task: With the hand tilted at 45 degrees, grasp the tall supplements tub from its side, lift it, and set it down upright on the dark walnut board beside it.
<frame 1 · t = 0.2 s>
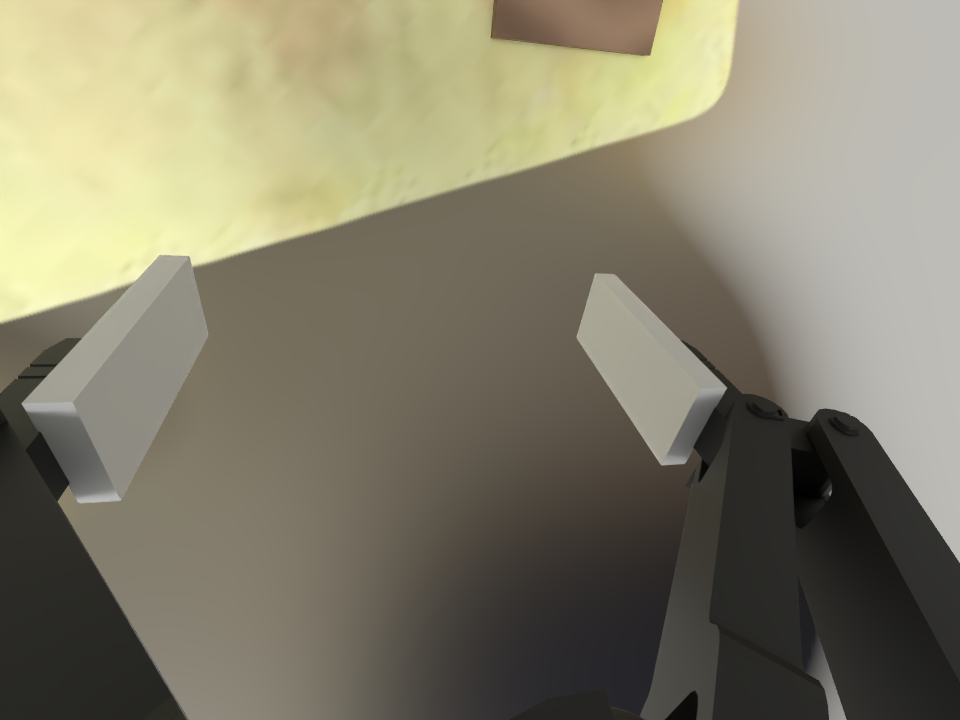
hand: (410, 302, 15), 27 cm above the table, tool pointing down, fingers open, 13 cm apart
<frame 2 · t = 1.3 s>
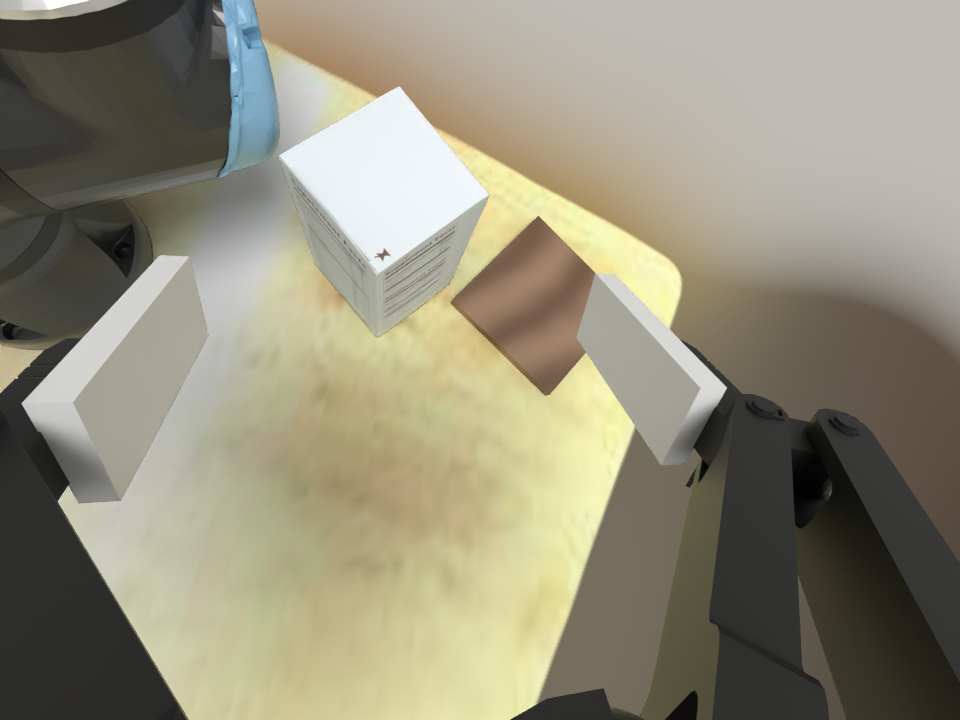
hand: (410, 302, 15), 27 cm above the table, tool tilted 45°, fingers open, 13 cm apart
walnut board: (539, 305, 47), on the table
supplement box: (383, 273, 44), on the table
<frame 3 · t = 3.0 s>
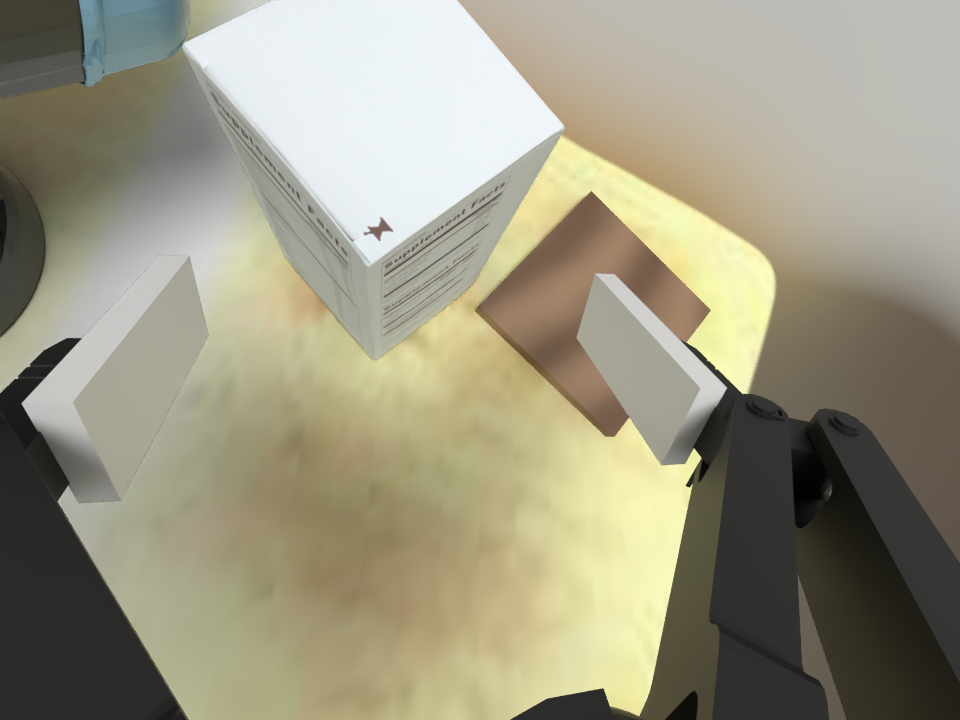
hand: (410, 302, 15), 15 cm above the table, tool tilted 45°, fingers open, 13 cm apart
walnut board: (594, 312, 34), on the table
supplement box: (382, 270, 31), on the table
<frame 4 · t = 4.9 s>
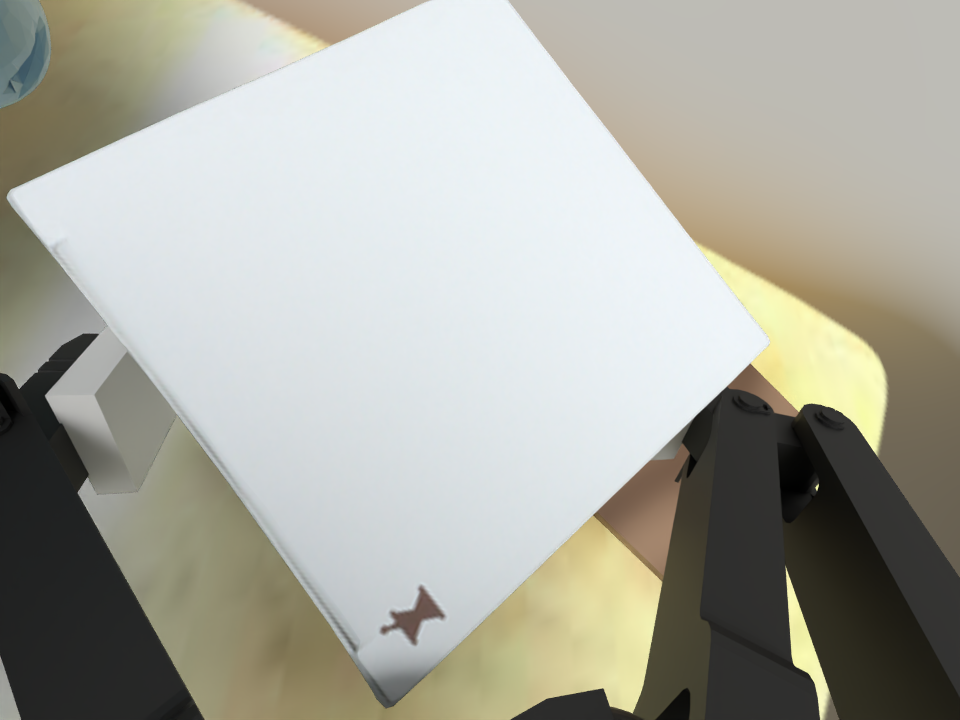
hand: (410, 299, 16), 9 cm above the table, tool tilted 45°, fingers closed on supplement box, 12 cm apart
walnut board: (670, 437, 27), on the table
supplement box: (399, 391, 24), on the table, touching gripper
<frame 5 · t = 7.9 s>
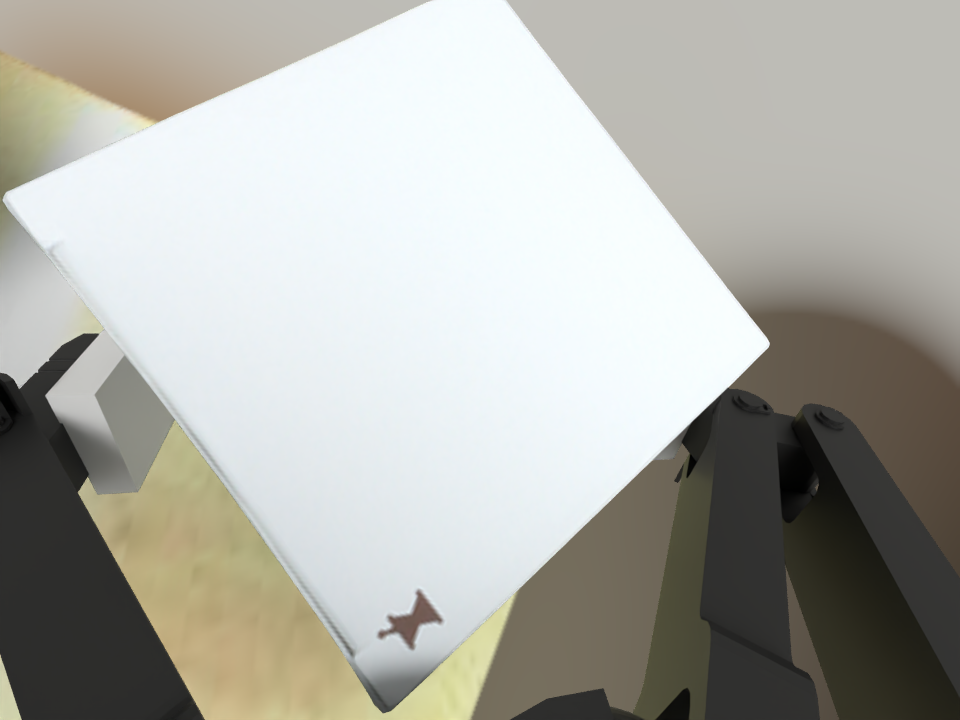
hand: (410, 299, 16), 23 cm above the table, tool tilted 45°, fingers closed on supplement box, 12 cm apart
supplement box: (398, 392, 24), point 15 cm above the table, touching gripper
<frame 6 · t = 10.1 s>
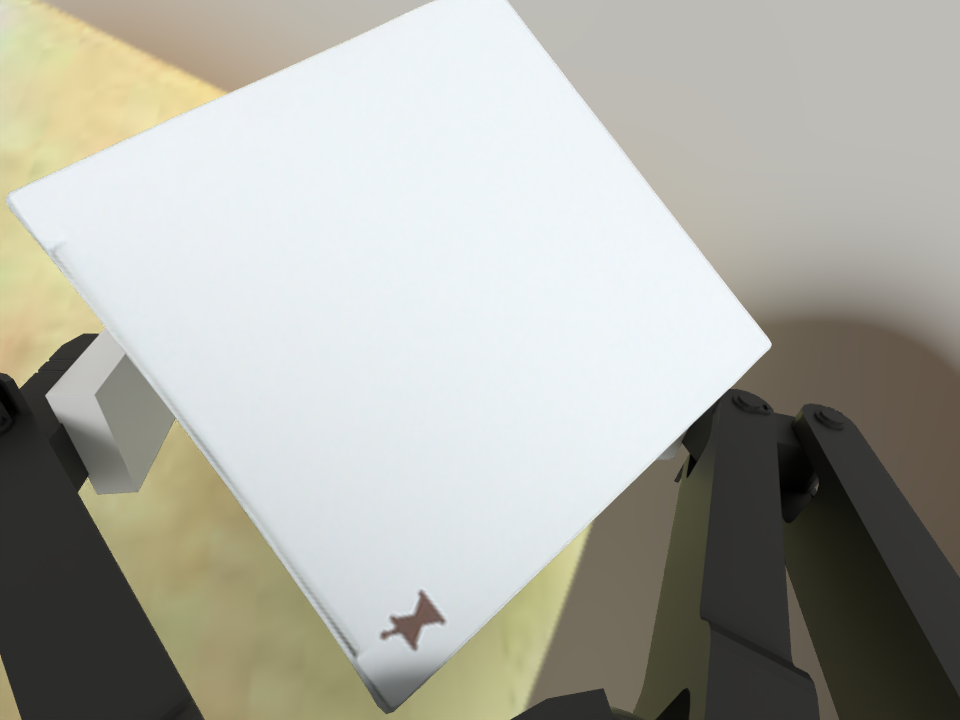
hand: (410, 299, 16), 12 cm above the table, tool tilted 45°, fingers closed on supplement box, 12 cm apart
supplement box: (399, 392, 24), point 3 cm above the table, touching gripper
when the fingers open (11 cm above the table, at t = 11.0 s): supplement box drops 1 cm, resting on walnut board.
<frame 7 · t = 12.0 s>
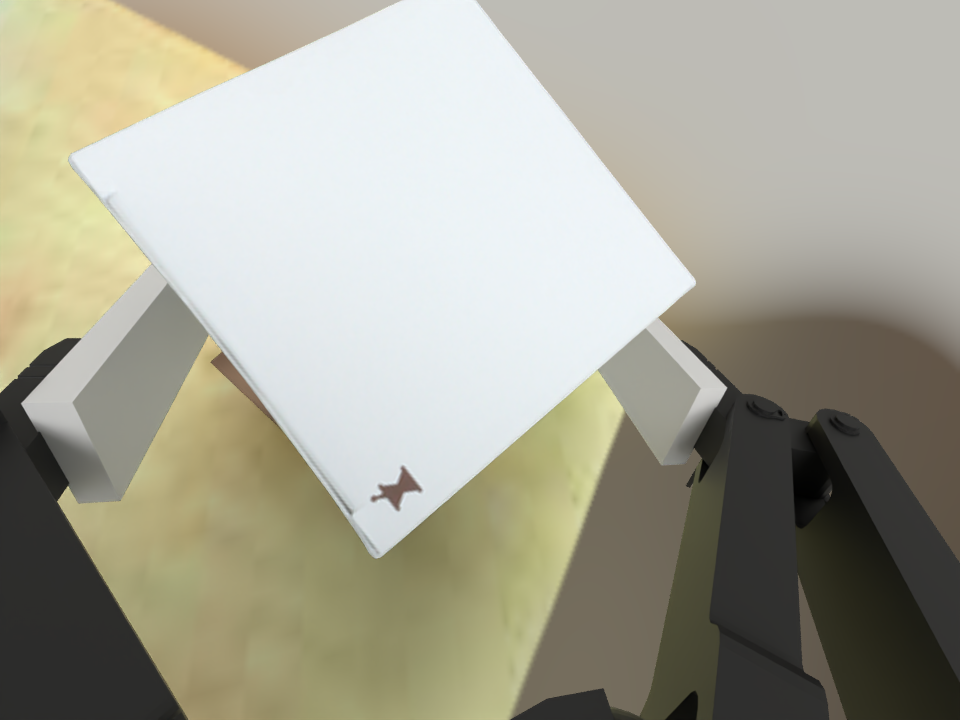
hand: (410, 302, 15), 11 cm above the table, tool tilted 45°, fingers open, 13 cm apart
walnut board: (393, 365, 26), on the table
supplement box: (392, 363, 25), point 1 cm above the table, touching gripper, walnut board
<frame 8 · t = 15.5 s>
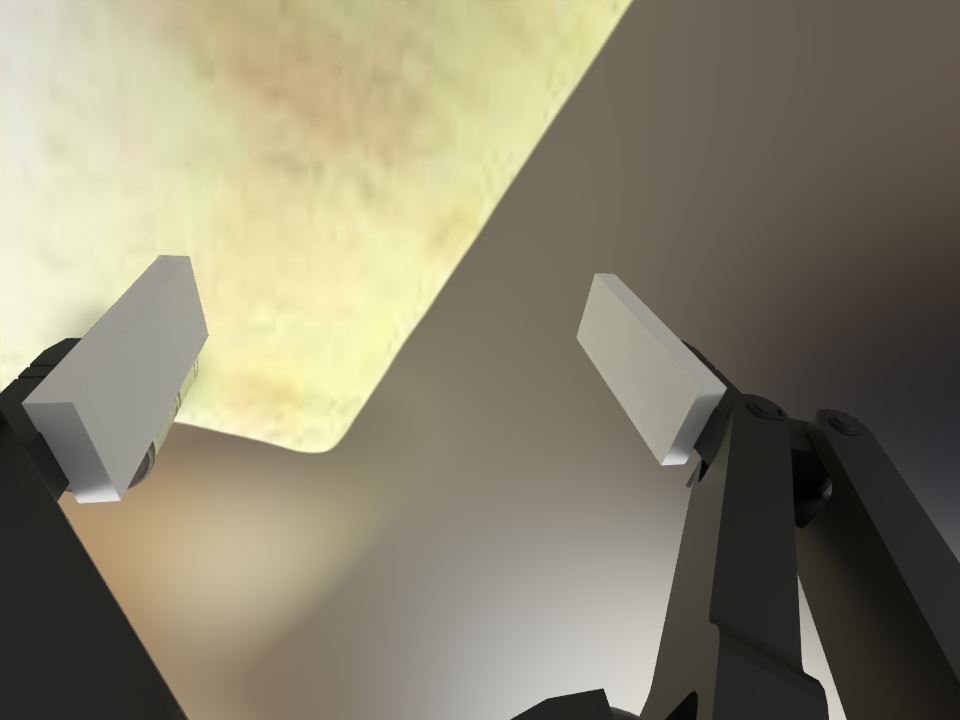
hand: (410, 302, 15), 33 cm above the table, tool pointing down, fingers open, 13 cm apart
coffee can: (147, 359, 50), on the table
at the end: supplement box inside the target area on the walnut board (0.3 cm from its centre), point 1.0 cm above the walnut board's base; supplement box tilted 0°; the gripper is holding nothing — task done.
